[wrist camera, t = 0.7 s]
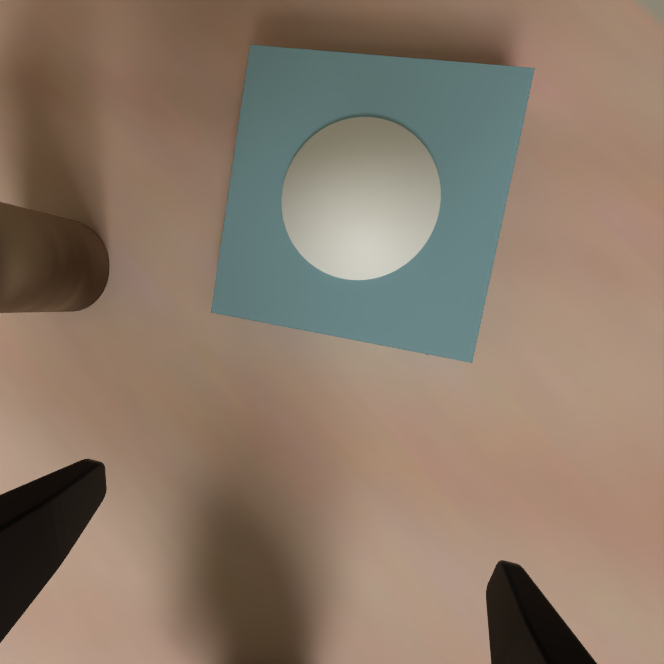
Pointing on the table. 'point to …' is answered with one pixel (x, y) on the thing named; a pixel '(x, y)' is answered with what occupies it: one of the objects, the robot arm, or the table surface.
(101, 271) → the walnut post
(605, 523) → the table surface
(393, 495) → the table surface
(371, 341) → the plinth
